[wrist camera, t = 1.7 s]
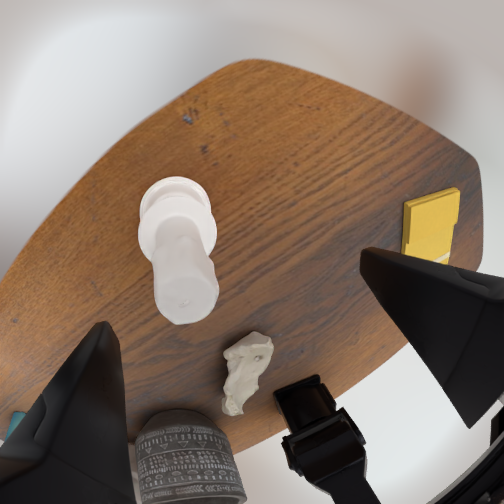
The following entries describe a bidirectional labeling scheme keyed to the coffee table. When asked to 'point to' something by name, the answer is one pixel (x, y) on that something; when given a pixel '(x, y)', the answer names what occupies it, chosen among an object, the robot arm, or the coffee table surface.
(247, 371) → the off-white irregular piece
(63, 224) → the coffee table surface
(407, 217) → the towel
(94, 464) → the robot arm
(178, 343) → the coffee table surface
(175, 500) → the planter
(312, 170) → the coffee table surface
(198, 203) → the candle
